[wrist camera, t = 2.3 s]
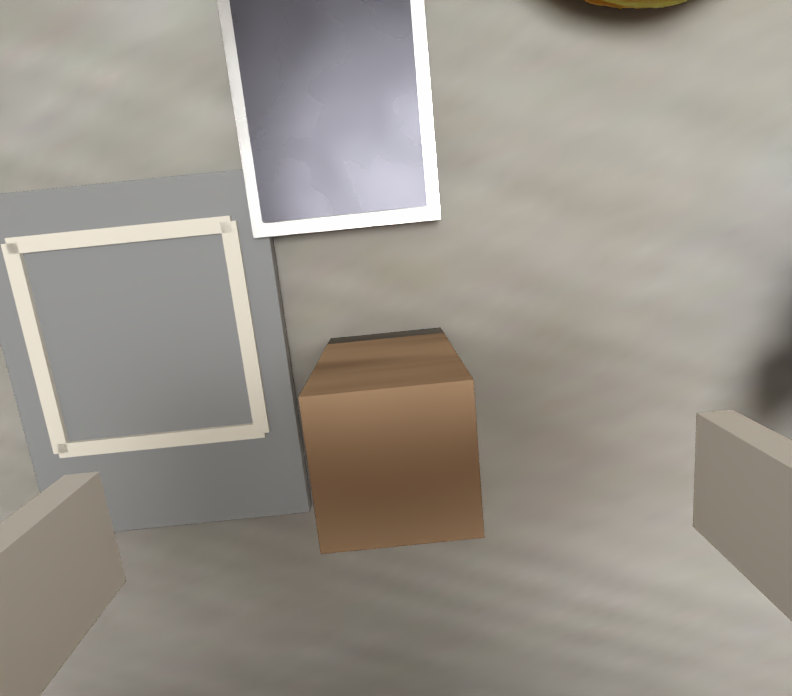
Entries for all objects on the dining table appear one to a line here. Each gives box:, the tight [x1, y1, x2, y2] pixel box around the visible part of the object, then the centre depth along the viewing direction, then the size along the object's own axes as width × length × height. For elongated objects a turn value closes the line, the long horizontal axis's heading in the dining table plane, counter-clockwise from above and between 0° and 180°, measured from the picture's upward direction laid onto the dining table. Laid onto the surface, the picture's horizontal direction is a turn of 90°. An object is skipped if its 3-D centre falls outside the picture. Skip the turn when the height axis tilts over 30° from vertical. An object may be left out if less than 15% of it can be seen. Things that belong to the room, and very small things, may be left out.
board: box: [0, 169, 311, 532], centre depth 20 cm, size 14×11×1 cm
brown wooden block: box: [298, 328, 484, 554], centre depth 17 cm, size 4×4×8 cm
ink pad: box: [217, 0, 441, 238], centre depth 18 cm, size 9×7×1 cm
